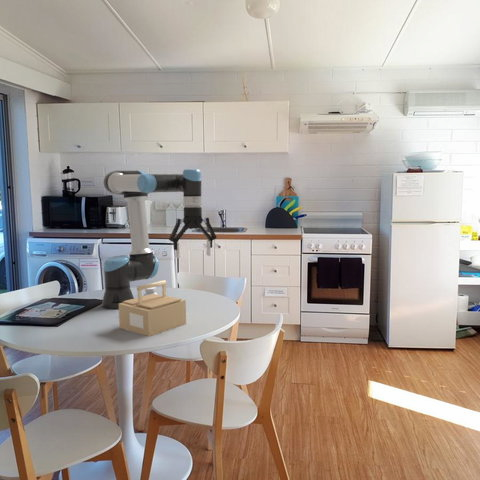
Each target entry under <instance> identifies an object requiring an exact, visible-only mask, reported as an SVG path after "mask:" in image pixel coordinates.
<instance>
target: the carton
mask: <svg viewBox="0 0 480 480" xmlns="http://www.w3.org/2000/svg"><path fill="white" fill-rule="evenodd" d="M160 297H163V294H162V295H161V294H158V293H157V294H150V295H146V296H144V295H143V296H142V295H141V299H142V302H145V301H148V300H152V299H156V298H160ZM133 298H134V297H133ZM137 303H138V297H135V298H134V299H130V300H126V301H123V303H120V304H119V309H118V316H119V317H118V321H119V323H118V324H119V328H120V329H122V330H126V331H128V332H132V333H136V334H140V335H143V336H146V337H151V336H154V335H157V334H160V333H163V332H167V331H169V330H172V329H175V328H178V327H181V326H183V325H186V324H187V303H186V299H182V300H181V301H178V302H174V303H171V304H167V305H164V306H160V307H157V308H153V309H150V308H146V307H141V306H137V305H136V304H137Z"/></svg>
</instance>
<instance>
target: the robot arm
mask: <svg viewBox="0 0 480 480" xmlns="http://www.w3.org/2000/svg"><path fill="white" fill-rule="evenodd" d="M202 180H203V179H202V171H201V170H200V169H197V168H195V169H194V168H192V169H189V168H187V169H185V168H184V169H183V170H182V174H181V173H180V174H175V173H172V174H169V173H167V174H165V173H161V174H158V173H157V174H156V173H147V172H146V171H143V170H113V171H110V172H108V173H107V174H106V175H105V176H104V179H103V187H104V189H105V191H107V192H108V193H110V194H113V195H118V196H120V195H121V196H123V199H124V200H125V201H126V203H127V209H128V213H127V214H128V221H129V222H128V223H129V231H130V232H129V233H130V242H131V244H130V245H131V251H130V252H129V254H128V255H127V254H126V255H124V254H123V255H116V256H110V257H108V258H107V259H105V260H104V261H103V263H104V264H103V266H104V267H103V271H104V294H103V298H102V300H101V306H102V307H101V308H104V309H108V310H110V309H111V310H112V309H113V310H115V309H116V310H117V309H118V310H119V304H120V303H123V301H126V300H130V299H134V294H133V293H132V290H131V282H135V281H136V282H138V281H141V280H142V281H143V280H149V279H152V278H155V276H157V274H158V272H159V267H160V262H159V259H158V257H157V256H156V255H155V254H154V251H153V250H152V249H151V248H150V240H149V231H148V230H149V229H148V227H149V226H148V219H147V208H146V200H147V199H148V195H149V194H152V193H183V206H184V207H183V218H179V217H177V218H176V219H175V220H176V221H175V225H174V227H173V229H172V232H171V234H170V235H169V238H168V240H169V241H170V242H172V243H173V250H174V251H175V257H176V259H180V242H179V241H180V239H181V238H182V237H183V236H184V234H185V233H186V231H187V230H193V229H195V230H196V229H197V230H198V229H199V230H200V231H201V232H202V233H203V236H205V237H206V238H207V239H206V255H207V256H208V257H211V248H213V241H214V240H216V239H217V235H216V233H215V230H214V229H213V227H212V225H211V223H210V218H209V217H203V215H202V214H203V212H202V211H203V210H202V209H203V208H202V207H201V206H202ZM182 223H183V224H184V225H183V226H182V228H181V230H180V231H179V229H180V225H181V224H182ZM202 223H204V224H205V226H206V227H207V230H208V231H209V232H208V231H207V230H206V229H205V228H204V226H203V225H202ZM178 231H179V232H178Z"/></svg>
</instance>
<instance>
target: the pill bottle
mask: <svg viewBox="0 0 480 480" xmlns="http://www.w3.org/2000/svg"><path fill="white" fill-rule="evenodd" d="M156 288H157V287H152V288H148V289H144V292H145V293H143V296H146V295H150V294H158V293H157V292H156V290H157V289H156Z"/></svg>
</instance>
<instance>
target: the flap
mask: <svg viewBox="0 0 480 480" xmlns="http://www.w3.org/2000/svg"><path fill="white" fill-rule="evenodd" d="M166 285H167V281H166V280H165V279H163V280H158V281H154V282H150V283H146V284H141V285H137V286H136V290H137V298H138V303H137V304H136V305H137V306H141V307H146V308H150V309H153V308H157V307H160V306H164V305H167V304H171V303H174V302H178V301H181V300H183V299H182V298H180V297H179V298H178V297H173V296H170V295H167V286H166ZM159 286H161V287H162V288H161V289H162V291H161V292H162V295H163V297H160V298H156V299H152V300H148V301H145V302H142V299H141V297H142V290H145V289H148V288H152V287H155V288H157V287H159Z"/></svg>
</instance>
